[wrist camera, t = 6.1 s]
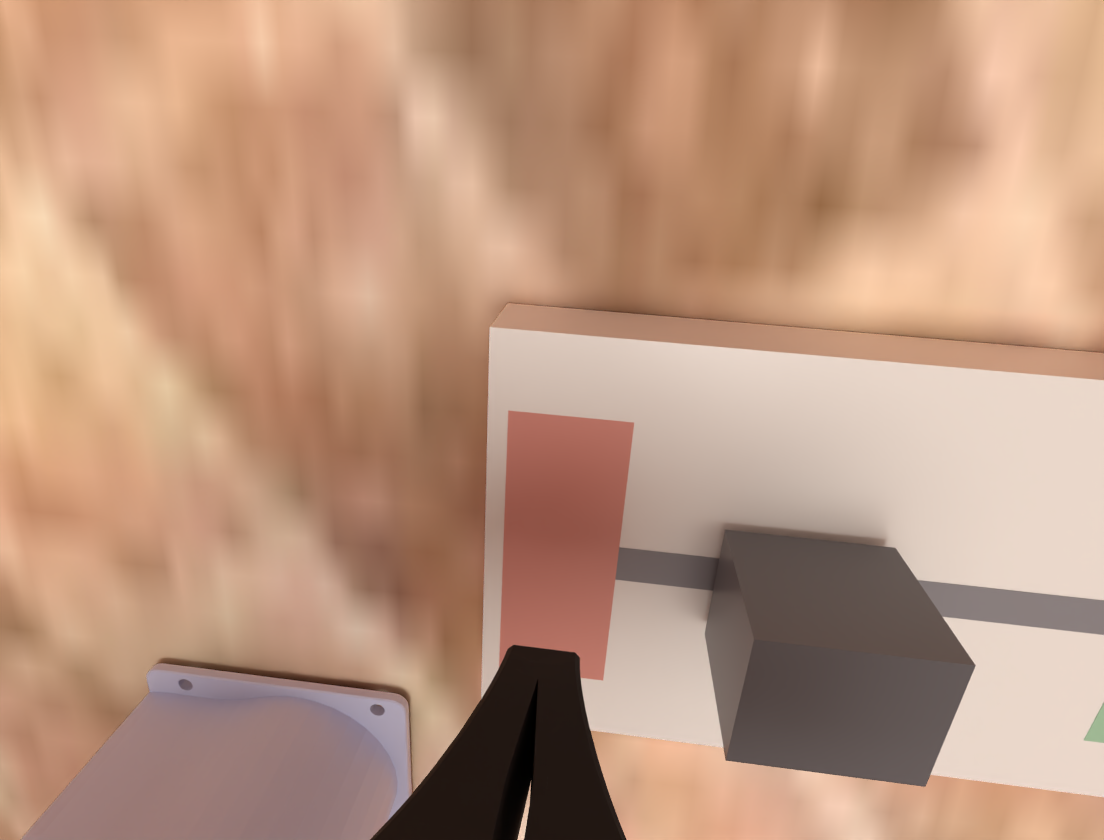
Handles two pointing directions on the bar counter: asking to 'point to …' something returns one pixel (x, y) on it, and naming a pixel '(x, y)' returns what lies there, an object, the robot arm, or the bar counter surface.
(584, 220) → the bar counter surface
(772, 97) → the bar counter surface
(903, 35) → the bar counter surface
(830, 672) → the knob
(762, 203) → the bar counter surface
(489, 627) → the switch plate
